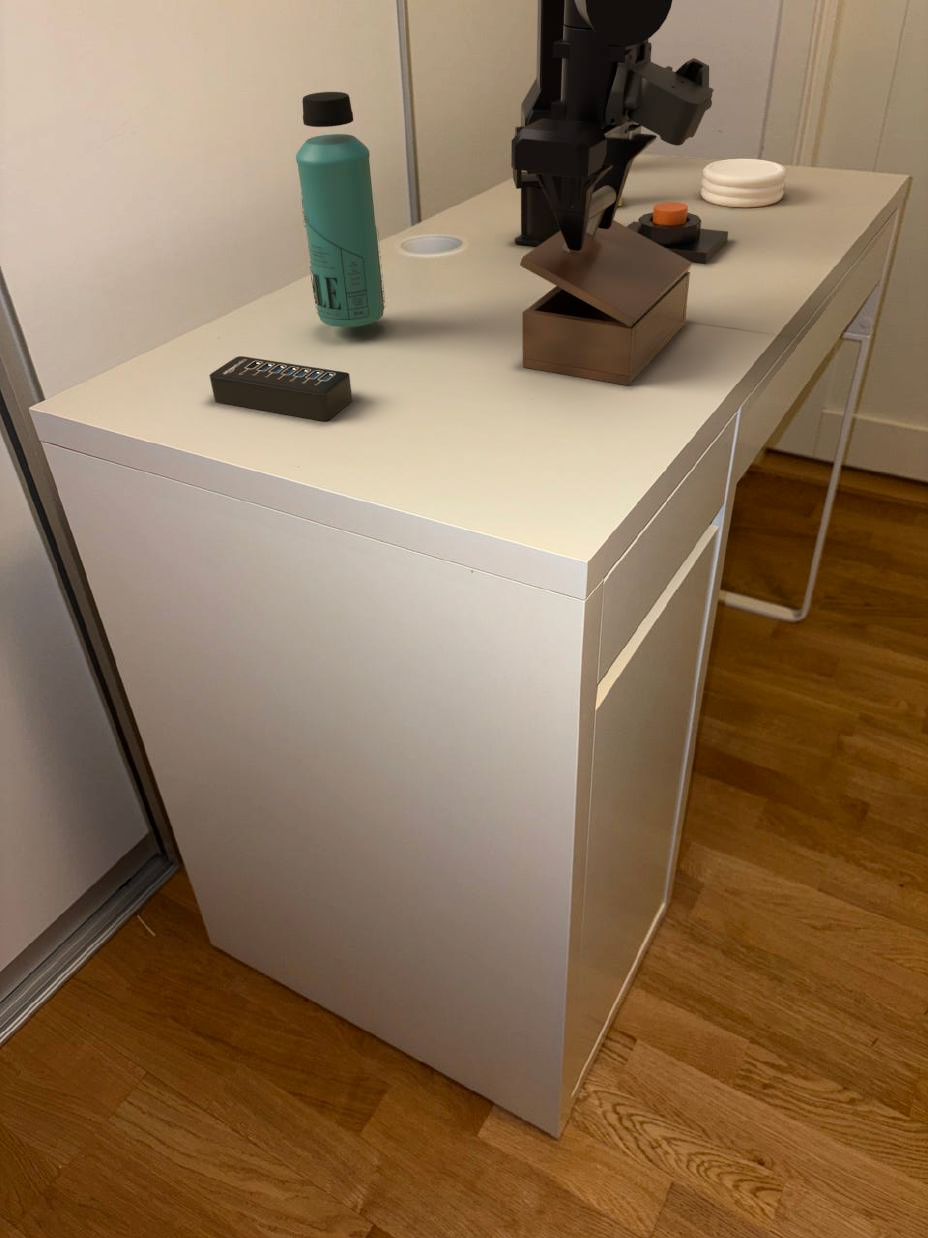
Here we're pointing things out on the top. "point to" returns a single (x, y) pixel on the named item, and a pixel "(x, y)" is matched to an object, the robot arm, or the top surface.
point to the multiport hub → (282, 388)
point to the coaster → (743, 182)
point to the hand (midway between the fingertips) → (589, 238)
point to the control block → (683, 237)
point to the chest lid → (609, 265)
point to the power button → (670, 213)
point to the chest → (598, 335)
